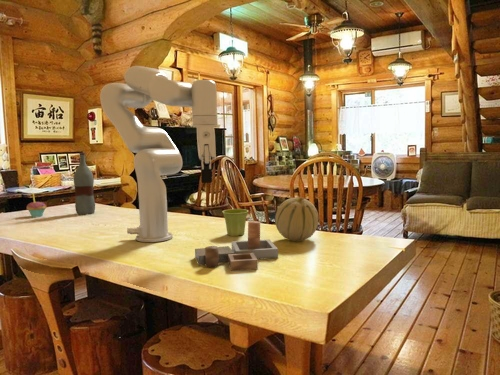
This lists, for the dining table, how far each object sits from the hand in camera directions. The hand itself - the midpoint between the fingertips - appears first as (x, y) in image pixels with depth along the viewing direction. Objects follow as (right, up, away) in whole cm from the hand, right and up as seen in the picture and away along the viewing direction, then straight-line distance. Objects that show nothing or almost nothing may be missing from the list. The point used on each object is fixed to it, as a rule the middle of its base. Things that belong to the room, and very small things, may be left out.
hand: (206, 182), depth 126 cm
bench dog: (+3, -23, -15) cm, 27 cm away
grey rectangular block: (+3, -23, -9) cm, 24 cm away
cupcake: (-90, -16, +72) cm, 116 cm away
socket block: (+11, -23, -16) cm, 30 cm away
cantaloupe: (+29, -20, +13) cm, 37 cm away
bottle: (-68, -15, +77) cm, 104 cm away
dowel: (+14, -21, -4) cm, 26 cm away
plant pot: (+8, -19, +24) cm, 31 cm away
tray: (+14, -21, -4) cm, 26 cm away
